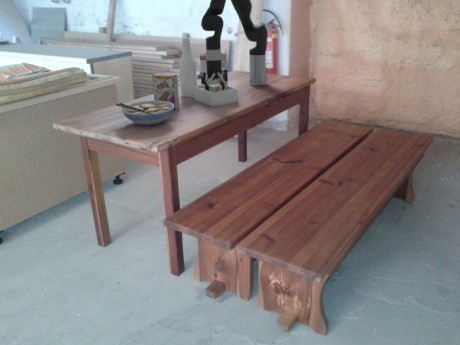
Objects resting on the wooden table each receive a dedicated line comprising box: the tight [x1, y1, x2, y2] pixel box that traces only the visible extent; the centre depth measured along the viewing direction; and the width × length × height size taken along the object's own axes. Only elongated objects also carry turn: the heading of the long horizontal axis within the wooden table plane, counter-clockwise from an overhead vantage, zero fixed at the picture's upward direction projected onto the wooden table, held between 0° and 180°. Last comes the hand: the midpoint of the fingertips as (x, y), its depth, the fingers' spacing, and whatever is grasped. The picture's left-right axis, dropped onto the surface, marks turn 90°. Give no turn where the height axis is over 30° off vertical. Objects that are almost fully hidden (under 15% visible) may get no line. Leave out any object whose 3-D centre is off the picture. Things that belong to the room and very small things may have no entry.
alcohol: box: [178, 37, 198, 98], centre depth 238 cm, size 9×9×30 cm
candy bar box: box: [152, 73, 180, 111], centre depth 217 cm, size 11×5×16 cm, turn 71°
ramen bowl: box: [115, 99, 174, 126], centre depth 196 cm, size 25×23×8 cm
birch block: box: [209, 84, 222, 92], centre depth 230 cm, size 5×5×7 cm
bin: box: [192, 83, 239, 108], centre depth 230 cm, size 15×19×7 cm
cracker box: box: [199, 51, 229, 86], centre depth 248 cm, size 14×6×21 cm, turn 84°
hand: (215, 91), depth 229 cm, fingers open, 8 cm apart
